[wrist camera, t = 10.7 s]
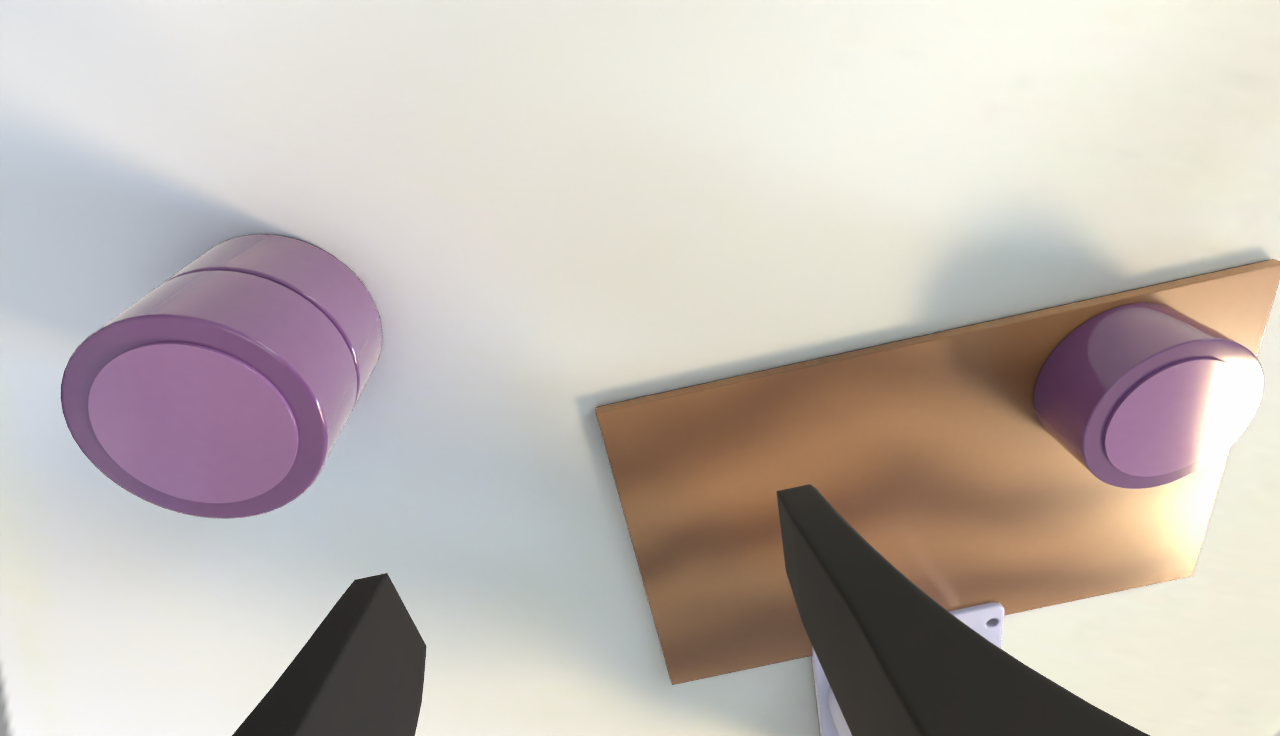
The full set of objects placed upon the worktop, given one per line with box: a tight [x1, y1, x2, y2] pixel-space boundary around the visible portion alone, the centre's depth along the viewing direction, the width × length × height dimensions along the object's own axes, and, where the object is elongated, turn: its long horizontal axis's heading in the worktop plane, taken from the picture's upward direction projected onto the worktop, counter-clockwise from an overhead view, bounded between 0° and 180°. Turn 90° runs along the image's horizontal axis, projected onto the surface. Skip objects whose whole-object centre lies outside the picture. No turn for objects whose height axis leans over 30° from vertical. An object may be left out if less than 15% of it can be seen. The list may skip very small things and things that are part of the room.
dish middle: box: [61, 270, 357, 519], centre depth 16 cm, size 5×5×3 cm
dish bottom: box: [159, 234, 382, 412], centre depth 18 cm, size 5×5×3 cm
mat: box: [596, 259, 1280, 685], centre depth 25 cm, size 14×22×1 cm, turn 101°
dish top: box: [1033, 302, 1264, 489], centre depth 21 cm, size 5×5×3 cm
